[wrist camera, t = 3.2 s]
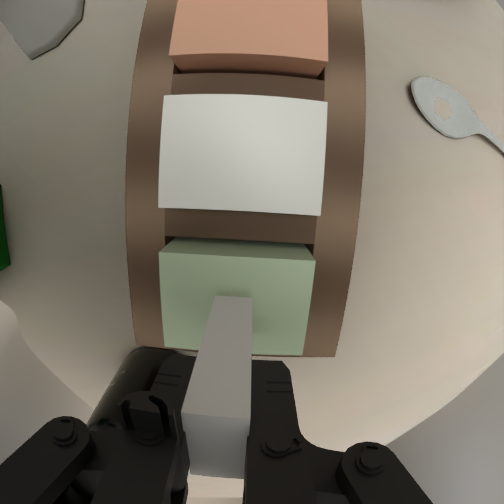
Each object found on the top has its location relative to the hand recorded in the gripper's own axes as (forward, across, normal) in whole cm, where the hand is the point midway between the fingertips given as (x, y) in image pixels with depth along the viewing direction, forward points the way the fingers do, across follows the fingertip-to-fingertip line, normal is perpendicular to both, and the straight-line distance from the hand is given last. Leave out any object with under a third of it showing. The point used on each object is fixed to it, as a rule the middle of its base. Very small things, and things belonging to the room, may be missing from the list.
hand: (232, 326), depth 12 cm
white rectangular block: (+6, 0, +7) cm, 9 cm away
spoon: (+8, +20, +11) cm, 25 cm away
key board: (+8, 0, +7) cm, 10 cm away
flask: (+8, -17, +20) cm, 28 cm away
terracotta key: (+6, 0, +14) cm, 15 cm away
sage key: (+6, 0, 0) cm, 6 cm away
